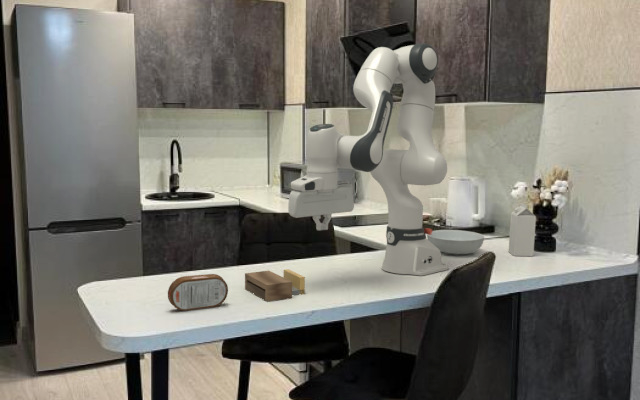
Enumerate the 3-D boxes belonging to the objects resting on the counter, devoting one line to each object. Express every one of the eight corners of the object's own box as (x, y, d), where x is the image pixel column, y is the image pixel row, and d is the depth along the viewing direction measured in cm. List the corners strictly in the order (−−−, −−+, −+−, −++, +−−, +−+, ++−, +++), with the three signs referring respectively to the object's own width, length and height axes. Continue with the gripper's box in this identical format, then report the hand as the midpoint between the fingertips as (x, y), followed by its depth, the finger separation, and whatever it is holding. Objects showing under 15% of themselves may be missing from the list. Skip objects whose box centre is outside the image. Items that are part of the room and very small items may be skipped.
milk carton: (527, 252, 227) (530, 203, 225) (533, 256, 220) (536, 205, 218) (508, 252, 228) (511, 202, 225) (514, 256, 220) (517, 205, 218)
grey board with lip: (288, 286, 174) (288, 269, 174) (304, 294, 166) (304, 277, 165) (253, 290, 169) (253, 273, 168) (268, 299, 160) (268, 281, 160)
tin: (225, 303, 156) (225, 271, 155) (229, 306, 153) (229, 274, 152) (167, 310, 149) (167, 277, 148) (170, 314, 146) (170, 280, 145)
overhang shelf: (268, 285, 173) (268, 270, 173) (291, 298, 161) (292, 281, 161) (244, 288, 169) (244, 273, 169) (266, 301, 158) (266, 285, 157)
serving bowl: (415, 248, 231) (416, 231, 230) (460, 245, 239) (461, 228, 238) (447, 260, 212) (448, 241, 211) (495, 256, 220) (496, 237, 219)
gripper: (346, 178, 178) (346, 224, 180) (285, 183, 168) (286, 231, 170) (358, 180, 173) (358, 227, 175) (296, 185, 162) (296, 235, 165)
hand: (322, 229), depth 172 cm, fingers closed
